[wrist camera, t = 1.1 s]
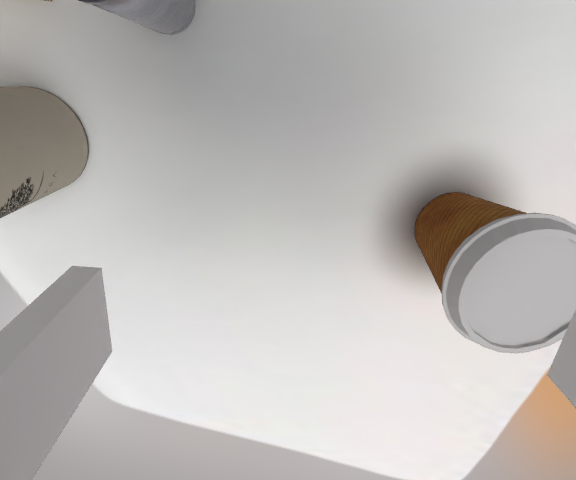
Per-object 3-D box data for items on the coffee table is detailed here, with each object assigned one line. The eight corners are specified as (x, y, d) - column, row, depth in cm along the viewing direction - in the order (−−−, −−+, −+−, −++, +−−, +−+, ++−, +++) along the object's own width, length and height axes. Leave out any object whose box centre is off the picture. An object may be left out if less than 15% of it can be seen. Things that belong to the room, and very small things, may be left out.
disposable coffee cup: (402, 283, 37) (456, 372, 26) (389, 187, 33) (444, 241, 22) (505, 262, 36) (605, 343, 25) (502, 161, 32) (618, 203, 21)
